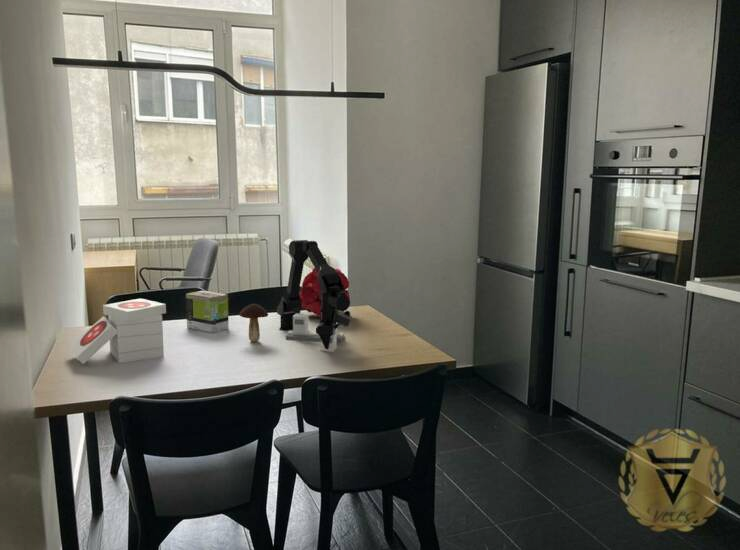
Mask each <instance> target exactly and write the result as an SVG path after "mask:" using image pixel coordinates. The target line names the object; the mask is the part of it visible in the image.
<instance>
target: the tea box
mask: <svg viewBox="0 0 740 550" xmlns="http://www.w3.org/2000/svg"><path fill="white" fill-rule="evenodd" d="M185 303H186V304H185V306H186V307H185V308H186V309H185V310H186V311H185V312H186V313H185V314H186V328H189V329H193V330H198V331H202V332H208V333H212V334H213V333H216V332H219V331H220V332H221V331H225V330H226V329H229V294H228V293H223V292H222V293H221V292H216V291H215V292H214V291H209V290H199V291H192V292H188V293H186V294H185Z"/></svg>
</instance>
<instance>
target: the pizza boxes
mask: <svg viewBox="0 0 740 550" xmlns="http://www.w3.org/2000/svg"><path fill="white" fill-rule="evenodd" d="M166 305H167V304H166V303H163V302H162V303H161V302H158V301H154V300H149V299H146V298H136V299H129V300H125V301H118V302H113V303H112V302H111V303H108V304H102V309H103V310H102V311H103V316H102V317H100V318H99V319H98V320H97V321H96V322H95V323H94V324H93V325H91V326H90V327H89V328H88V329H87V330H86V331H85V332H83V334H81V336H79V337H78V338H77V339H76V340H75V341H74V342H73V343H71V344H70V345H69V349H70V350H71V352H72V353H73V355H74V357H75V359H76V360H78V361H79V362H80V363H81V364H83V365H84V364H85V363H87V361H88V360H90V359H91V358H92V357H93V356H94V355H95V354H96V353H97V352H98V351H99V350H100V349H102V348H103V347H104V346H105V345H106V344H107V343H108V342H109V352H110V353H111V354H112V355H113V357H114V358H115V360H116V361H117V362H118V364H120V363H121V364H122V363H128V362H133V361H134V362H135V361H141V360H146V359H147V360H148V359H153V358H154V359H155V358H161V357H164V355H165V353H164V352H165V351H164V335H163V333H164V332H163V331H164V330H163V329H164V328H163V314H167V306H166ZM104 315H106V316H108V317H107V318H108V319H107V318H106V317H105V316H104Z"/></svg>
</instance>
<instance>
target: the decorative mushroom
mask: <svg viewBox="0 0 740 550" xmlns="http://www.w3.org/2000/svg"><path fill="white" fill-rule="evenodd" d="M238 316H240V317H242V318H245V319H249V324H248V339H249V341H250V342H253V343H256V342H258V341H259V340H260V337H261V336H260V324H259V323H260V322H259V318H267V317H268V316H269V314H268V311H267V310H266V309H265V308H264V307H263V306H261V305H260V304H258V303H251V304H248V305H247V306H245V307H243V308H242V309H241V310H240V312H239V314H238Z"/></svg>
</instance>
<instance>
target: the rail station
mask: <svg viewBox="0 0 740 550" xmlns="http://www.w3.org/2000/svg"><path fill="white" fill-rule="evenodd" d="M322 324H324V323H322ZM336 324H339V323H337V322H336ZM338 330H339V327H337V328H336V329H335V332H337V343H341V342H342V341H343V340H344V338H345V333H344V332H339V331H338ZM285 339H286V340H294V339H297V340H298V341H299V340H300V341H313V342H314V341H315V342H316V341H317V342H321V338H320V336H319V334H317V333H316V331H313V330H311V331H309V313H301V312H300V313H296V314H295V315H294V316H293V330H287V334H286V335H285ZM342 339H343V340H342Z"/></svg>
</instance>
